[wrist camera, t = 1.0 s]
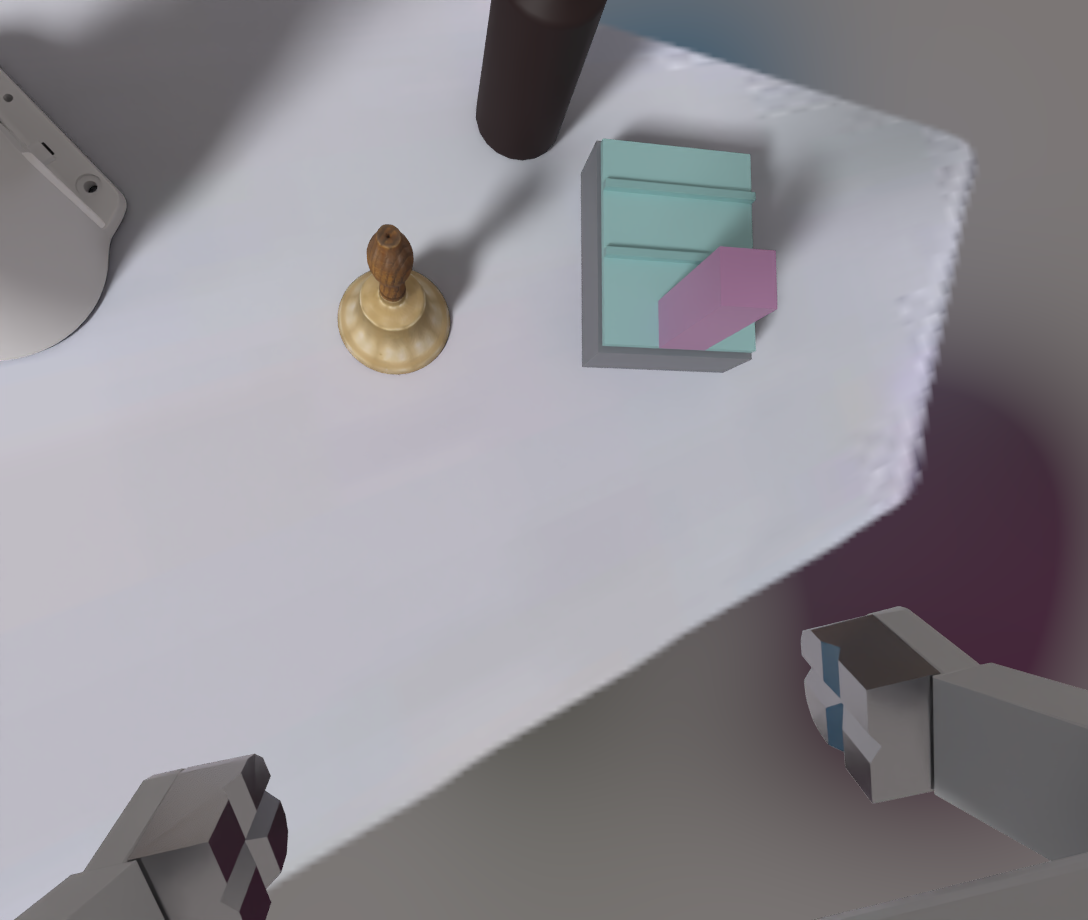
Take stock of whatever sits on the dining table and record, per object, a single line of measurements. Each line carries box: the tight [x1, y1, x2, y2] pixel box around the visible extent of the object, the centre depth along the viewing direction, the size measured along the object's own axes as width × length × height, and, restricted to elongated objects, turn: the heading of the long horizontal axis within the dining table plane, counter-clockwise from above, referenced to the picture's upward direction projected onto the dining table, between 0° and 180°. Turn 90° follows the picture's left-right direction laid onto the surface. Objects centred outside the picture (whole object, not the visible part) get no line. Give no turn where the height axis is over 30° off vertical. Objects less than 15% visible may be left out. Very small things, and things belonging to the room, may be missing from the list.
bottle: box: [476, 0, 607, 160], centre depth 43 cm, size 7×7×20 cm
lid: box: [601, 139, 777, 353], centre depth 44 cm, size 15×12×11 cm
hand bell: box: [338, 224, 450, 374], centre depth 42 cm, size 8×8×16 cm
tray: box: [581, 141, 752, 373], centre depth 52 cm, size 16×12×5 cm
